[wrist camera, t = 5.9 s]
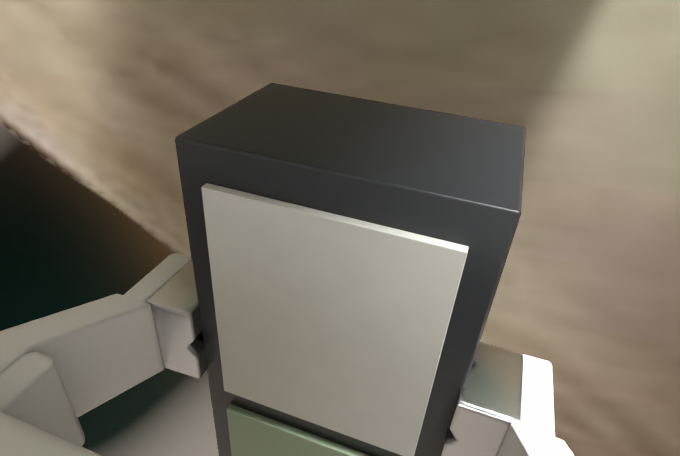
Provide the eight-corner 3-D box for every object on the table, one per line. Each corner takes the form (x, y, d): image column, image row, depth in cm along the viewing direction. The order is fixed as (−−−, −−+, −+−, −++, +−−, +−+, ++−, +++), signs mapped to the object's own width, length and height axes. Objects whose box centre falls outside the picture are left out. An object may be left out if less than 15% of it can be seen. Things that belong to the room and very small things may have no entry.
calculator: (270, 81, 10) (166, 140, 7) (527, 125, 8) (521, 218, 6) (276, 363, 14) (215, 464, 12) (440, 419, 13) (414, 546, 10)
